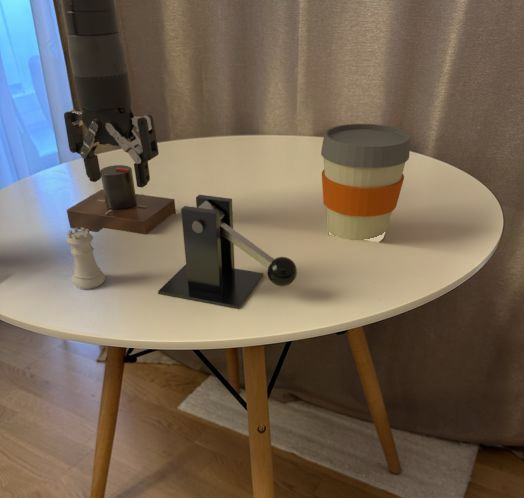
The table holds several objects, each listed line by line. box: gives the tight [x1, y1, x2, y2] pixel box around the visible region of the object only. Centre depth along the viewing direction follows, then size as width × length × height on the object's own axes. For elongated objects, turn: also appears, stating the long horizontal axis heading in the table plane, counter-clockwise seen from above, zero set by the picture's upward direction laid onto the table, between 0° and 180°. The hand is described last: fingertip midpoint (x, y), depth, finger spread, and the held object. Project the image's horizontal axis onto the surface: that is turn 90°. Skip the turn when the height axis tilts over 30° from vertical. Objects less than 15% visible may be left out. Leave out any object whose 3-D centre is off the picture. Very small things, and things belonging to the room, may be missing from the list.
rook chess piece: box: [65, 227, 106, 290], centre depth 70 cm, size 4×4×8 cm
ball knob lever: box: [198, 201, 298, 288], centre depth 66 cm, size 14×4×4 cm
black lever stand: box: [157, 194, 265, 310], centre depth 68 cm, size 11×9×12 cm
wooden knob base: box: [66, 188, 177, 235], centre depth 89 cm, size 14×10×3 cm
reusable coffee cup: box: [320, 123, 411, 241], centre depth 82 cm, size 13×13×15 cm
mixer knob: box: [100, 164, 137, 209], centre depth 87 cm, size 5×5×6 cm
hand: (118, 183), depth 87 cm, fingers open, 8 cm apart
